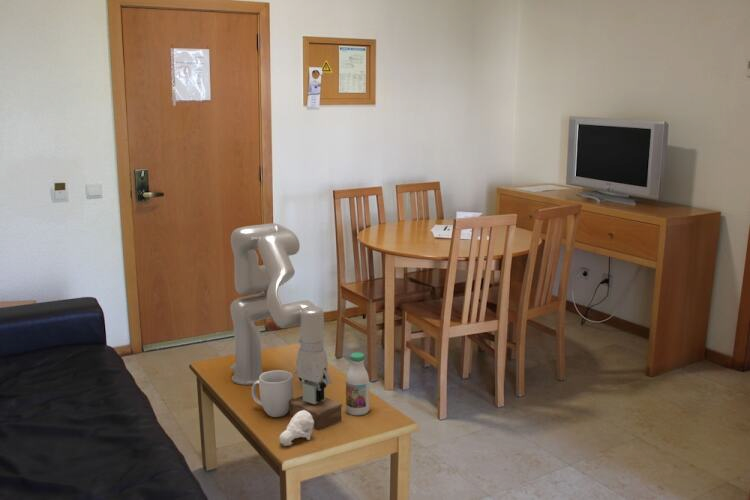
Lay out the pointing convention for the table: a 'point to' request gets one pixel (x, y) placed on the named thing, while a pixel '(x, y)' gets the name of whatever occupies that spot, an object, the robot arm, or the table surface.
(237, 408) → the table surface
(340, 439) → the table surface
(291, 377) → the mug
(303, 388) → the block
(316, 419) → the walnut box
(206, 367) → the table surface
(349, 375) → the milk bottle
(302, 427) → the white animal figurine
